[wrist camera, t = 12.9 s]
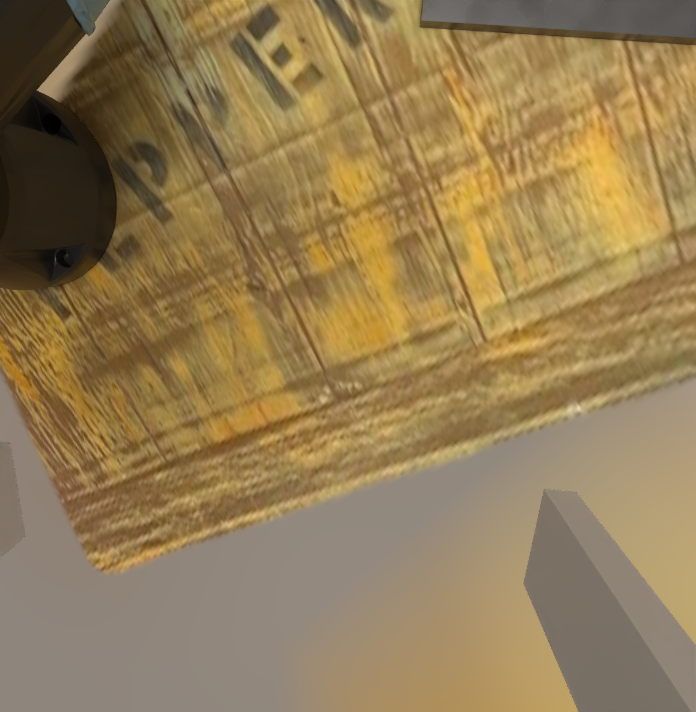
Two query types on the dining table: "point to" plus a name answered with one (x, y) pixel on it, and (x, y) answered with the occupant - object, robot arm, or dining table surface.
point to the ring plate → (570, 18)
